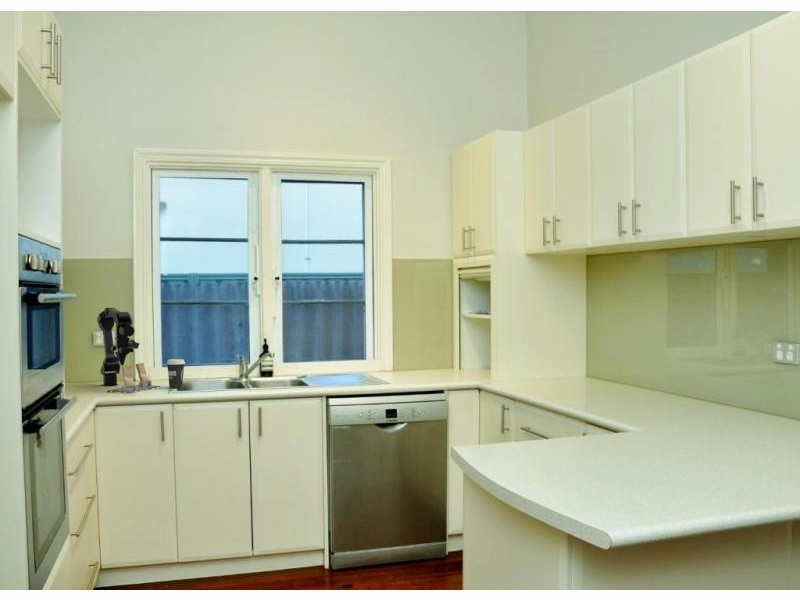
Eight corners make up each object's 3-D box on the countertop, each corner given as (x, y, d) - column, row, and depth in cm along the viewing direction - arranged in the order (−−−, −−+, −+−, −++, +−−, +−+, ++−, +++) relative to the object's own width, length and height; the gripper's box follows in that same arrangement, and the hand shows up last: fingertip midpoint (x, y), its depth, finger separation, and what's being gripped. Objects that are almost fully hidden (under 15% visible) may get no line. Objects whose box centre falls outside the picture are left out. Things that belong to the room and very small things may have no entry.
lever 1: (124, 387, 340) (122, 367, 342) (132, 386, 342) (130, 367, 345) (125, 386, 338) (123, 366, 341) (133, 385, 341) (131, 366, 344)
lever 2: (140, 383, 355) (135, 364, 356) (146, 382, 359) (140, 363, 360) (143, 382, 354) (137, 363, 355) (148, 381, 358) (143, 362, 359)
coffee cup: (170, 386, 360) (169, 358, 360) (187, 386, 360) (187, 358, 360) (163, 389, 351) (163, 360, 351) (182, 389, 351) (181, 360, 351)
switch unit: (107, 392, 341) (107, 385, 341) (139, 386, 362) (139, 380, 362) (129, 393, 336) (129, 387, 336) (160, 387, 357) (160, 381, 357)
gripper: (143, 335, 349) (143, 365, 349) (132, 334, 364) (132, 362, 364) (121, 336, 342) (121, 367, 342) (110, 335, 357) (110, 364, 357)
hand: (122, 365), depth 352 cm, fingers closed
